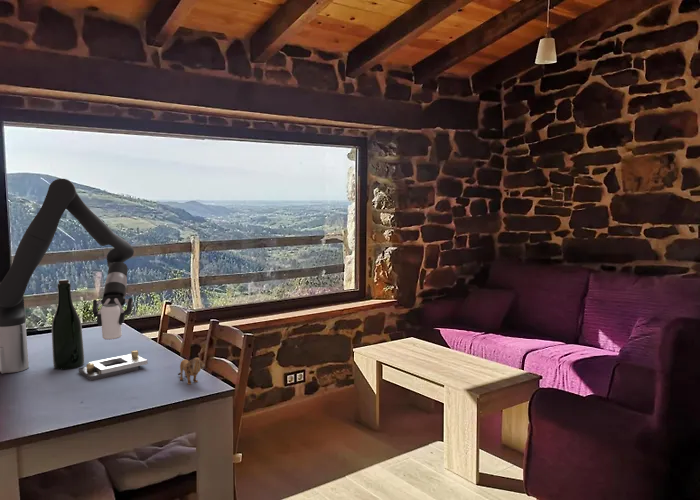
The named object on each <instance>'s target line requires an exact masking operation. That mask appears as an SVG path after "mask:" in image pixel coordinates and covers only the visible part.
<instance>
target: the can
mask: <svg viewBox="0 0 700 500" xmlns="http://www.w3.org/2000/svg"><path fill="white" fill-rule="evenodd" d="M101 307H102V309H101V308H100V309H101V323H102V326H101V335H102V336H101V337H102V338H103V340H109V341H110V340H111V341H112V340H117V339H120V338H121V337H122V336H123V335H122V334H123V333H122V332H123V331H122V325H120V324H119V317H120V314H121V313H120V308H119V306H118V304H106V305H102V304H101Z"/></svg>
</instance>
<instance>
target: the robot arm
mask: <svg viewBox="0 0 700 500" xmlns="http://www.w3.org/2000/svg"><path fill="white" fill-rule="evenodd" d="M66 210H67V211H68V212H69V213H70V214H71V215H72V216H73V217H74V218H75V219H76V220H77V221H78V223H79V224H80V225H81V226H82V228H84V230H86V232H87V233H88V235H90V236H91V238H92V239H94V241H96V242H97V244H98V245H99V246H101V247H106V246H111V247H112V248H111V249H109V250H108V252H107V254H106V263H107V268H108V270H107V275H106V278H105V279H106V280H105V282H104V288H103V289H104V290H103V297H102V299H101V300H97V299H93V301H92V315H93V317H96V323H97V325H98V326H99V327H102V323H101V309H102V305H106V304H118V306H119V308H120V317H119V324H120V325H121V326H123V324H124V323H125V316H127V315H128V316H130V315H131V313H132V310H133V307H134V300H133V298H132V297H130V298H127V299H126V293H127V292H126V291H127V287H128V286H127V285H128V284H127V283H128V280H127V279H128V278H127V277H128V271H129V270H128V269H129V268H128V265H127V264H126V263H125V262H126V261H128V260H129V259H131V258H132V257H133V256H134V254H135V251H134V248H133V246H132V245H131V244H130V242H128V241H127V240H125V239H124V238H123V237H121V236H119V235H118V234H116V233H115V232H114V231H113V230H112V229H111V228H110V227H109V225H107V224H106V223H105V222H104V221H103V220H102V219H101V218H100V217H99V216H98V215H97V214H96V213H94V211H93V210H92V209H90V208H89V206H87V204H85V202H84V201H83V199H82V198H81V197H80V195H79V194H78V192H77V188H76V186H75V184H74V183H73V182H72V181H71V180H69V179H67V178H57V179H55V180H52V181H51V183H50V184H49V186H48V190H47V193H46V195H45V197H44V200H43V202H42V205H41V207H40V208H39V211H37V214H36V215H35V217H34V218H33V219H32V221H30V222H31V223H29V225H28V227H27V228H26V230H25V231H24V234H23V236H22V237H21V239H20V241H19V243H18V246H17V248H16V251H15V252H14V256H13V260H12V263H11V265H10V268H9V269H8V271H7V273H6V274H5V276H4V278H3V279H2V280H1V281H0V373H1V374H2V375H3V374H12V373H17V372H22V371H25V370H27V369H29V368H30V366H29V365H30V364H29V363H30V361H29V351H28V350H29V349H28V339H27V338H28V337H27V325H26V324H27V323H26V322H27V321H26V311H25V292H26V290H27V287H28V285H29V282H30V280H31V278H32V276H33V274H34V272H35V271H36V269H37V268H38V267H39V264H40V263H41V262H42V260H43V258H44V257H45V255H46V254H47V251H48V249H49V248H50V246H51V243H52V242H53V239H54V237H55V234H56V232H57V229H58V225H59V223H60V220H61V218H62V216H63V215H64V213H65V211H66ZM125 304H126V305H127V306H126V309H125V310H124V308H123V307H124V305H125ZM100 306H101V307H100ZM99 308H100V309H99Z"/></svg>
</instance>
